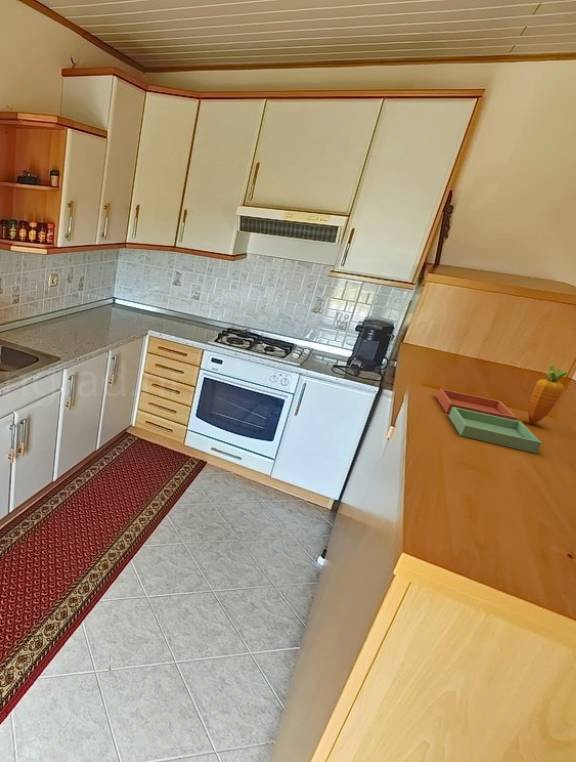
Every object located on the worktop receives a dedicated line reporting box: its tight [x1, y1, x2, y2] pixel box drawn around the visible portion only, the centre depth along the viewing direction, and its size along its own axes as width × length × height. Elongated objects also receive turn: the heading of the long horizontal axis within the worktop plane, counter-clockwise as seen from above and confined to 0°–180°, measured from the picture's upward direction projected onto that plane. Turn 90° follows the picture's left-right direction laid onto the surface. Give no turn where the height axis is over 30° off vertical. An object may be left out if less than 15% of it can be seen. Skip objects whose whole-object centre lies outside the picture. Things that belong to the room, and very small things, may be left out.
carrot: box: [527, 364, 569, 425], centre depth 117 cm, size 5×5×15 cm
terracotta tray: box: [436, 388, 518, 421], centre depth 124 cm, size 13×13×3 cm
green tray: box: [448, 407, 542, 454], centre depth 110 cm, size 13×13×3 cm
